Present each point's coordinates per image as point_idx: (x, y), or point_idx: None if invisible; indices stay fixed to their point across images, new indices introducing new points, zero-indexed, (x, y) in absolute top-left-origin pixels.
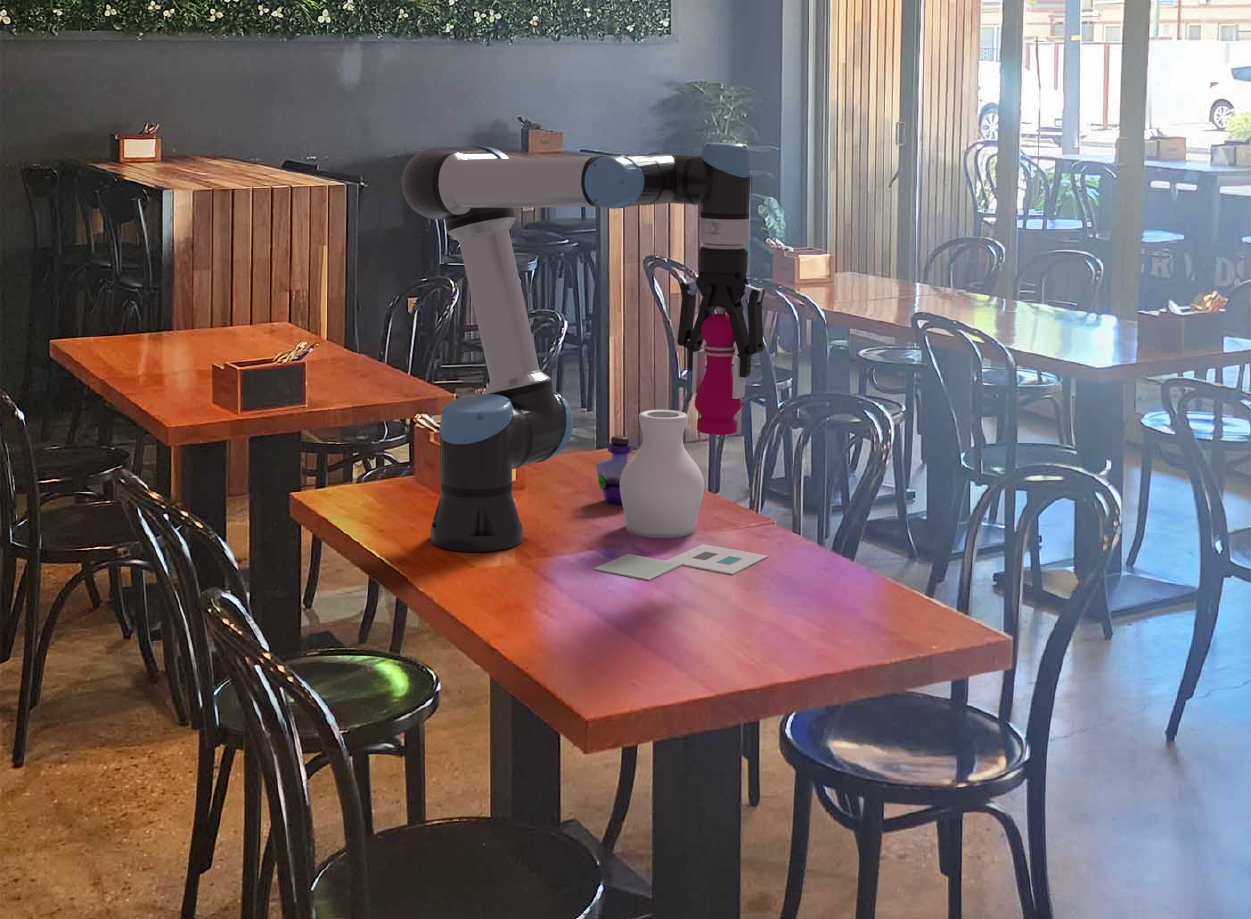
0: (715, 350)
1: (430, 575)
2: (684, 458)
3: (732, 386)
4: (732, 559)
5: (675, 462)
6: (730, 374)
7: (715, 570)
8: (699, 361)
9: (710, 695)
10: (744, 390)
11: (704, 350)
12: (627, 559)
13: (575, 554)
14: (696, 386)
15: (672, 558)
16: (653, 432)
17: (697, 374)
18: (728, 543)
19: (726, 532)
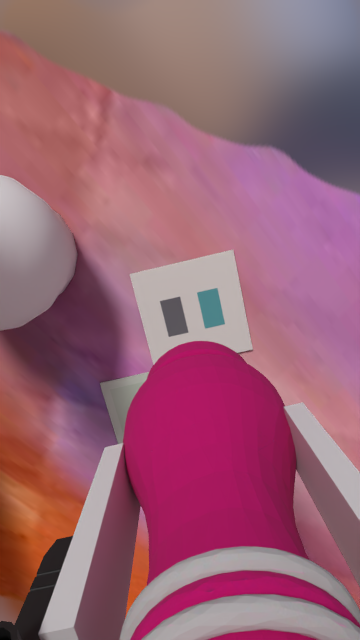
0: None
1: (24, 582)
2: (3, 245)
3: (294, 480)
4: (211, 302)
5: (10, 276)
6: (294, 518)
7: None
8: (113, 617)
9: None
10: (312, 417)
11: (72, 635)
12: (119, 402)
13: (55, 426)
14: (136, 520)
15: (153, 357)
16: None
17: (129, 562)
18: (146, 236)
19: (101, 189)
